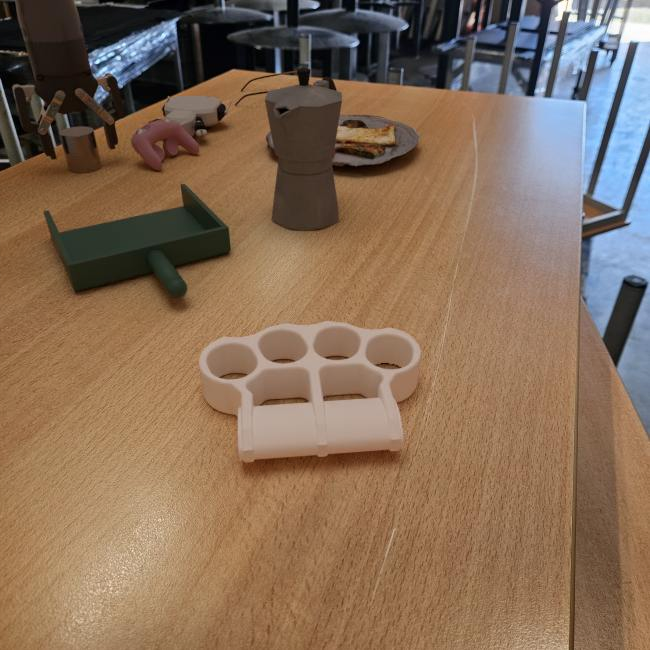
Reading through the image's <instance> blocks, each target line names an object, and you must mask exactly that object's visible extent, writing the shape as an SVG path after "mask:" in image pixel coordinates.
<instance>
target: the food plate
mask: <svg viewBox="0 0 650 650" xmlns="http://www.w3.org/2000/svg"><path fill="white" fill-rule="evenodd" d="M421 137H422V136H421V135H419V132H418V131H417V130H416V129H415V128H414V127H412V126H411V125H408V124H406V123H404V122H401V121H396V120H391V119H388V118H386V117H384V116H378V115H372V114H371V115H370V114H369V115H368V114H340V117H339V123H338V129H337V136H336V142H335V148H334V155H333V156H332V166H335V167H343V166H345V165H348V166H352V167H354V166H355V167H358V166H367V165H368V166H369V165H379V164H383V163H385V162H388V161H390V160H391V159H393V158H396V157H400V156H402V155H406V154H407V153H408V152H410V151H412V150H414V149H415V147H417V146H418V144H419V142H420V140H421ZM265 140H266V144H267V147H268V148H269V149H270V150H272V153H274V146H273V141H272V136H271V130H269V132H268V133H267V134H266V136H265Z"/></svg>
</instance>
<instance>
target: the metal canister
mask: <svg viewBox="0 0 650 650" xmlns="http://www.w3.org/2000/svg"><path fill="white" fill-rule="evenodd" d="M59 138H60V141H61V145H62V150H63V153H64V157H65V160H66V164H67V168H68V171H69V172H72V173H76V174H87V173H93V172H96V171H98V170H99V169H101V168H102V165H103V164H102V160H101V155H100V152H99V148H98V142H97V138H96V133H95V129H94V128H93V127H90V126H71V127H67V128H64V129H62V130H60V131H59Z"/></svg>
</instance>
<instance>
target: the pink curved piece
mask: <svg viewBox="0 0 650 650" xmlns="http://www.w3.org/2000/svg"><path fill="white" fill-rule="evenodd" d="M149 122H150V121H149ZM161 141H162V148H161V146H159V145H157V144H156V143H158V142H161ZM130 143H131V146H132V149H133V150H134V152H136V154H138V155H139V156H140V157H141V159H142V160H143V161H144V162H145V164H147V165H148V166H149V167H150V168H151V169H153V170H155V171H159V172H160V171H162V170H163V167H164V165H163V160H164V158H165V155H166V156H167V157H174V156H176V155H177V154H178V153H179V146H180V147H182V148H183V149H184V150H185V151H187V152H188V153H190V154H192V155H195V156H197V155H198V154H199V153H200V146H199V144H198V142H197V141H196V139H194V138H193V136H192V137H191V136H190V135H189V134H188V133H187V131H186V130H185V129H184V128H183V127H182V126H181V125H180V124H179V123H177V122H175V120H173V119H171V120H164V119H161V120H157V121H154V122H150V123H148V122H147V123H146V124H144V125H143V126H141V127H140V128H138V129H137V130H136V131H135V132H134V133H133V134H132V136H131V138H130Z"/></svg>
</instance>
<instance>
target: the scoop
mask: <svg viewBox="0 0 650 650" xmlns="http://www.w3.org/2000/svg"><path fill="white" fill-rule="evenodd" d="M180 191H181V192H180V193H181V198H182V199H181V200H182V205H181V206H177V207H172V208H167V209H162V210H158V211H154V212H149V213H145V214H140V215H134V216H130V217H125V218H121V219H116V220H112V221H107V222H106V221H105V222H101V223H96V224H92V225H88V226H83V227H78V228H72V229H68V230H64V231H59V230H58V227H57V224H56V223H55V221H54V219H53V217H52V215H51V212H50V210H48V209H47V210H44V211H43V212H42V213H43V216H44V218H45V222H46V225H47V228H48V232H49V235H50V238H51V241H52V243H53V245H54V247H55V250H56V252H57V255H58V256H59V259H60V261H61V263H62V266H63V269H64V270H65V272H66V275H67V277H68V279H69V282H70V284H71V286H72V289H73V291H74V292H75V293H78V292H81V291H84V290H89V289H93V288H96V287H100V286H101V287H102V286H105V285H108V284H112V283H117V282H120V281H124V280H129V279H131V278H135V277H140V276H144V275H147V274H151V273H154V275H155V276H156V278H157V280H158V281H159V282H160V284H161V286H162V287H163V288H164V290H165V291H166V293H167V294H168V295H169V296H170V297H171V298H172V299H181V298H184V296H185V295H187V291H188V284H187V283H186V281H185V280H184V279H183V277H182V275H181V274H180V273H179V272H178V271H177V269H176V268H175V267H178V266H183V265H187V264H190V263H194V262H198V261H202V260H207V259H210V258H214V257H217V256H222V255H226V254H229V253H230V252H232V249H231V248H232V247H231V238H230V237H231V236H230V229H229V226H228V225H227V224H226V223H225V222H224V221H223V220H222V219H221V218H220V217H219V216H218V215H217V214H216V213H215V212H214V211H213V210H212V209H211V208H210V207H209V206H208V205H207V204H206V203H205V202H204V201H203V200H202V199H201V198H200V197H199V196H198V195H197V194H196V193H195V192H194V191H193V190H192V189H191V188H190V187H189V186H188V185H187V184H185V183H180Z"/></svg>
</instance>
